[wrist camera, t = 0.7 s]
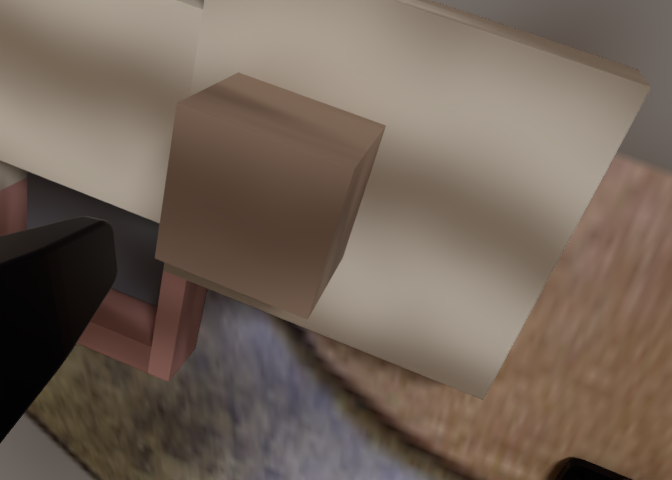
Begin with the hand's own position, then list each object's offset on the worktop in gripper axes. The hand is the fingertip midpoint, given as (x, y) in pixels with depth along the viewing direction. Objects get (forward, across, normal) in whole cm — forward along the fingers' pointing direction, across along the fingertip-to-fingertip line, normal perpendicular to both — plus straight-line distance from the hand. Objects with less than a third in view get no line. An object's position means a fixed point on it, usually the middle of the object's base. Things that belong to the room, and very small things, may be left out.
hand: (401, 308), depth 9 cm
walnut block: (+11, +5, +3) cm, 13 cm away
